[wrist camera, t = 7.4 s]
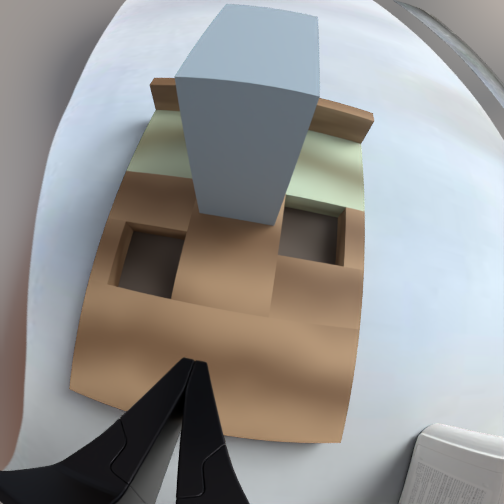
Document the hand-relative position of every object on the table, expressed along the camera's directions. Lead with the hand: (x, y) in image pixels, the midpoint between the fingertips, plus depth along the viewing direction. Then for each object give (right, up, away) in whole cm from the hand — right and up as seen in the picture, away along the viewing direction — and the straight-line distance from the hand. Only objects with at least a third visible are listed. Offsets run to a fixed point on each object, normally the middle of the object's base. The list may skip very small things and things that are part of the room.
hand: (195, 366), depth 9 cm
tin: (+2, +10, +11) cm, 15 cm away
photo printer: (+17, -15, +6) cm, 23 cm away
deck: (0, +3, +11) cm, 11 cm away
